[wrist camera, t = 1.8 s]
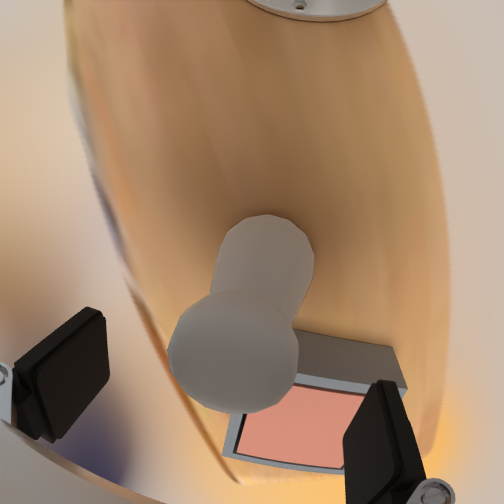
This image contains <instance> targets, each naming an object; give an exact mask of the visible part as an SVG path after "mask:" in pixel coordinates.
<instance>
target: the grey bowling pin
mask: <svg viewBox="0 0 504 504" xmlns="http://www.w3.org/2000/svg"><path fill="white" fill-rule="evenodd" d="M314 259H315V255H314V253H313V250H312V248H311V245H310V242H309V240H308V237H307V235H306V234H305V233H304V232H303V231H301V230H300V229H299V228H298V227H297V226H295V225H294V224H293V223H292V222H291V221H290V220H288V219H284V218H281V217H277V216H274V215H270V214H265V215H259V216H254V217H248V218H245V219H244V220H242V221H241V222H240V223H238V224H237V225H235V226H234V227H233V228H231V229H230V230H229V231H228V232H227V234H226V236H225V238H224V240H223V242H222V244H221V246H220V248H219V251H218V255H217V260H216V265H215V269H214V274H213V279H212V284H211V289H210V294H209V295H208V296H206V297H204V298H203V299H201V300H200V301H198V302H197V303H195V304H194V305H192V306H191V307H189V308H188V309H187V310H186V311H185V312H184V313H183V314H182V316H181V317H180V319H179V321H178V323H177V326H176V328H175V330H174V333H173V335H172V337H171V340H170V343H169V346H168V349H167V352H168V359H169V366H170V372H171V373H172V375H173V376H174V377H175V379H176V380H177V382H178V383H179V384H180V386H181V387H182V389H183V390H184V391H185V392H186V393H187V395H189V396H190V397H192V398H193V399H194V400H196V401H197V402H199V403H200V404H202V405H203V406H205V407H207V408H210V409H213V410H216V411H220V412H223V413H227V414H250V413H257V412H259V411H262V410H264V409H266V408H269V407H271V406H273V405H276V404H278V403H279V402H280V401H281V399H282V398H283V397H284V396H285V395H286V394H287V393H288V392H289V390H290V389H291V388H292V387H293V384H294V381H295V378H296V375H297V366H298V356H299V347H298V340H297V338H296V335H295V333H294V331H293V329H292V324H293V321H294V319H295V317H296V315H297V313H298V310H299V308H300V306H301V304H302V302H303V299H304V297H305V295H306V292H307V290H308V288H309V286H310V283H311V281H312V279H313V275H314Z"/></svg>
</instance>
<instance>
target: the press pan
mask: <svg viewBox="0 0 504 504" xmlns="http://www.w3.org/2000/svg"><path fill="white" fill-rule="evenodd" d="M365 395H366V394H365V393H357V392H350V391H343V390H336V389H329V388H323V387H317V386H311V385H306V384H300V383H295V382H294V384H293V387H292V388H291V389H290V390H289V392H288V393H287V394H286V395H285V396H284V397H283V398H282V399H281V401H280V402H279V403H278V404H276V405H273V406H271V407H269V408H266V409H264V410H262V411H259V412H257V413H250V414H247V416H246V420H245V423H244V427H243V430H242V434H241V437H240V441H239V444H238V448H237V452H238V453H242V454H247V455H251V456H256V457H261V458H267V459H272V460H278V461H284V462H291V463H298V464H305V465H313V466H323V467H333V468H341V467H342V466H343V464H344V458H343V445H342V440H343V436H344V433H345V431H346V430H347V428H348V426H349V424H350V423H351V421H352V419H353V417H354V416H355V414H356V412H357V410H358V408H359V407H360V405H361V403H362V401H363V399H364V397H365Z"/></svg>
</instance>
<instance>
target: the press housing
mask: <svg viewBox="0 0 504 504" xmlns="http://www.w3.org/2000/svg"><path fill="white" fill-rule="evenodd" d="M293 331H294V333H295V335H296V338H297V340H298V347H299V356H298V366H297V375H296V378H295V381H294V382H295V383H300V384H306V385H311V386H317V387H323V388H329V389H336V390H343V391H350V392H357V393H365V394H366V393H367V391H368V389H369V388H370V386H371V384H372V383H376V382H377V381H378V380H380V379H381V380H389V381H395V382H396V384H397V387H398V390H399V393H400V396H401V399H402V398H403V396H404V394H405V393H406V391H407V389H408V388H407V385H406V383H405V380H404V377H403V374H402V371H401V369H400V366H399V363H398V361H397V358H396V355H395V353H394V350H393V348H392V347H387V346H381V345H375V344H369V343H363V342H358V341H352V340H347V339H341V338H336V337H330V336H325V335H320V334H315V333H310V332H305V331H300V330H296V329H293ZM246 416H247V414H231V417H230V421H229V426H228V430H227V434H226V439H225V443H224V447H223V452H222V456H225V457H229V458H234V459H238V460H242V461H247V462H252V463H257V464H262V465H268V466H273V467H279V468H286V469H292V470H300V471H308V472H317V473H327V474H340V475H345V474H344V464H343V466H342V467H341V468H333V467H323V466H313V465H305V464H298V463H291V462H284V461H278V460H272V459H267V458H261V457H256V456H251V455H247V454H242V453H238V452H237V448H238V444H239V441H240V437H241V434H242V430H243V427H244V423H245V420H246Z"/></svg>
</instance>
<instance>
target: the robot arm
mask: <svg viewBox="0 0 504 504" xmlns="http://www.w3.org/2000/svg"><path fill="white" fill-rule="evenodd" d="M247 1H249V2H250V3H252V4H253V5H255V6H257V7H260V8H262V9H264V10H266V11H268V12H271V13H274V14H277V15H280V16H283V17H288V18H293V19H298V20H305V21H319V22H325V21H341V20H346V19H351V18H356V17H359V16H362V15H364V14H367V13H370V12H372V11H373V10H375V9H377V8H378V7H380V6H382V5H383V4H384V3H385V2H386V1H387V0H247ZM297 8H303V10H297ZM108 359H109V358H108V347H107V332H106V319H105V317H103V314H102V312H101V311H99V310H96V309H93V308H90V307H85V308H84V309H82V310H81V311H80V312H78V313H77V314H76V315H74V316H73V317H72V318H70V319H69V320H68V321H67V322H65V323H64V324H63V325H61V326H60V327H59V328H58V329H56V330H55V331H54V332H52V333H51V334H50V335H49V336H47V337H46V338H45V339H43V340H42V341H41V342H40V343H38V344H37V345H36V346H35V347H33V348H32V349H31V350H30V351H28V352H27V353H26V354H25V355H24V356H22V357H21V358H20V359H19V360H17V361H16V362H15V363H14V366H15V367H14V368H13V369H12V370H11V368H10V367H9V366H8V365H7V364H5V363H3V362H0V504H165V503H163V502H160V501H157V500H154V499H151V498H149V497H146V496H143V495H141V494H138V493H136V492H133V491H130V490H128V489H126V488H124V487H121V486H119V485H117V484H114V483H112V482H110V481H108V480H106V479H104V478H101V477H99V476H97V475H95V474H93V473H91V472H89V471H87V470H85V469H83V468H82V467H79V466H78V465H76V464H74V463H72V462H70V461H69V460H67V459H65V458H63V457H62V456H60V455H58V454H56V453H55V452H53V451H51V450H50V449H48V448H46V447H45V446H43V445H41V444H40V443H38V442H37V440H38V439H39V437H40V436H41V437H42V438H44V439H45V440H47V441H49V442H50V443H52V444H53V443H54V442H55V441H56V439H61V438H62V437H63V436H64V435H65V434H66V432H67V431H68V430H69V429H70V427H71V426H72V425H73V424H74V422H75V421H76V420H77V419H78V417H79V416H80V415H81V414H82V412H83V411H84V410H85V409H86V407H87V406H88V404H90V402H91V401H92V400H93V399H94V398H95V396H96V395H97V394H98V393H99V391H100V390H101V389H102V388H103V387H104V385H105V384H106V383H107V382H108V380H109V376H110V370H109V360H108ZM342 445H343V458H344V474H345V492H346V504H454V503H455V493H454V491H453V489H452V487H451V486H450V485H449V484H448V483H446V482H445V481H443V480H441V479H436V478H431V479H427V478H426V474H425V471H424V467H423V463H422V460H421V456H420V453H419V449H418V446H417V443H416V439H415V436H414V433H413V429H412V426H411V423H410V421H409V420H408V417H407V414H406V411H405V408H404V405H403V402H402V399H401V396H400V393H399V390H398V387H397V384H396V382H395V381H389V380H381V379H380V380H378V381H377V382H376V383H372V384H371V386H370V388H369V389H368V391H367V393H366V395H365V397H364V399H363V401H362V403H361V405H360V407H359V408H358V410H357V412H356V414H355V416H354V417H353V419H352V421H351V423H350V424H349V426H348V428H347V430H346V431H345V433H344V436H343V440H342Z"/></svg>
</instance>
